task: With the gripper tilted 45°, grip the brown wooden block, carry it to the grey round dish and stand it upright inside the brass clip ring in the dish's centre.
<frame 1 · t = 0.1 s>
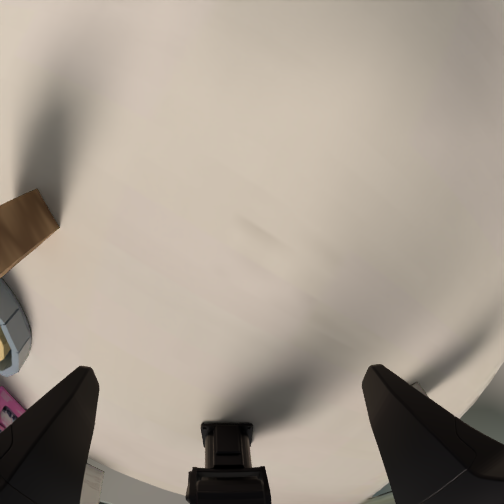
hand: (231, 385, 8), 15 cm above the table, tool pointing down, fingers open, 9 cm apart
supplement box: (84, 465, 38), on the table
brown wooden block: (35, 220, 19), on the table
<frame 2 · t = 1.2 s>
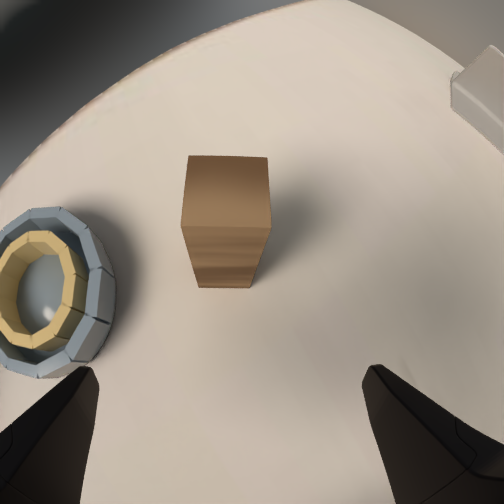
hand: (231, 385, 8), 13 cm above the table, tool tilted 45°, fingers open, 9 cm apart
tablet stand: (492, 128, 40), on the table
grey round dish: (49, 297, 21), on the table
brown wooden block: (224, 263, 24), on the table
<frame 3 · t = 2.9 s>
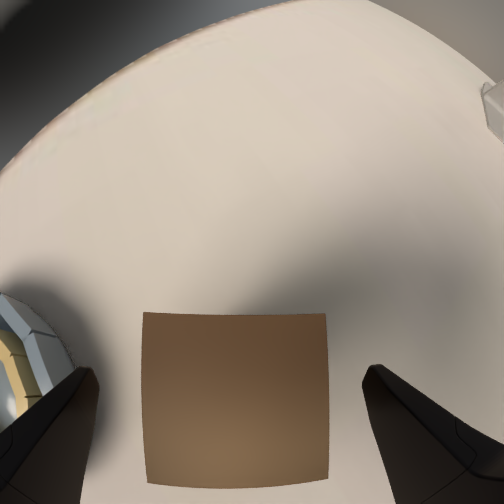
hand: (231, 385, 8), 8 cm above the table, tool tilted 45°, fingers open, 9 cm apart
grey round dish: (9, 396, 13), on the table
brown wooden block: (227, 378, 15), on the table
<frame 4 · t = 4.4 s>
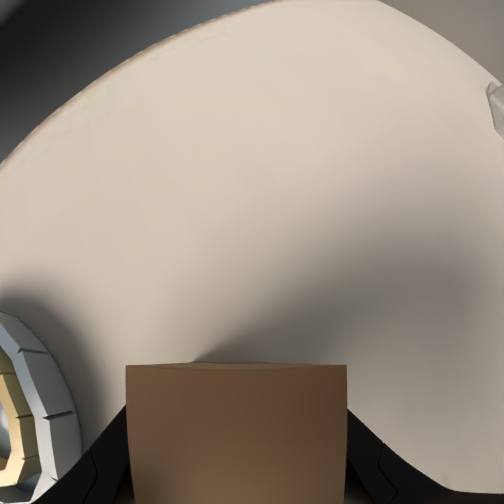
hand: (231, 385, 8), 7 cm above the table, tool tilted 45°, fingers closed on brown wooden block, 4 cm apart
grey round dish: (3, 411, 11), on the table
brown wooden block: (228, 398, 14), on the table, touching gripper
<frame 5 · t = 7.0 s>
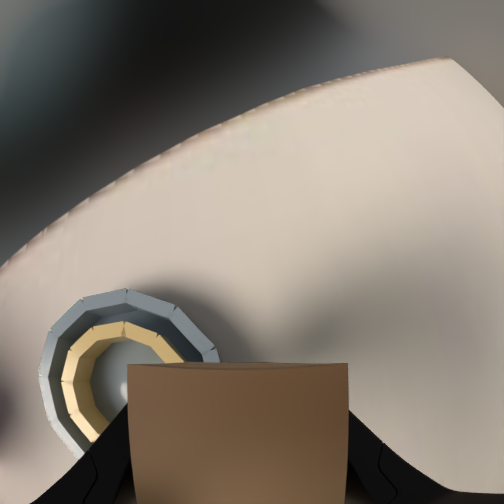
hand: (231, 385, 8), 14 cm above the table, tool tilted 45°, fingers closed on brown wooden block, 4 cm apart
grey round dish: (136, 388, 19), on the table
brown wooden block: (229, 397, 14), point 6 cm above the table, touching gripper
when the fingers open (9 cm above the table, at t = 9.4 s): brown wooden block drops 1 cm, resting on grey round dish.
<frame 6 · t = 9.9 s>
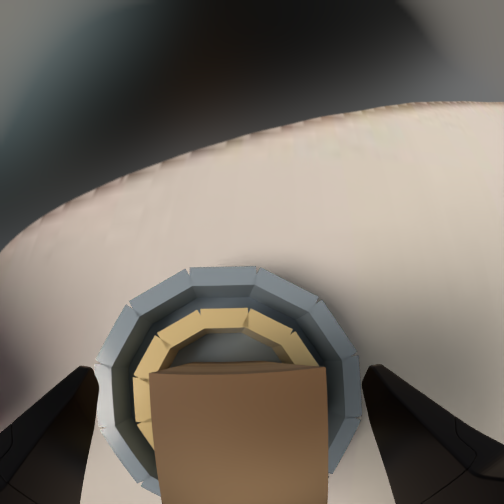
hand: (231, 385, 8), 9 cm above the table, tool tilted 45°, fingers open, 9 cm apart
grey round dish: (227, 393, 16), on the table
brown wooden block: (228, 394, 16), point 1 cm above the table, touching grey round dish
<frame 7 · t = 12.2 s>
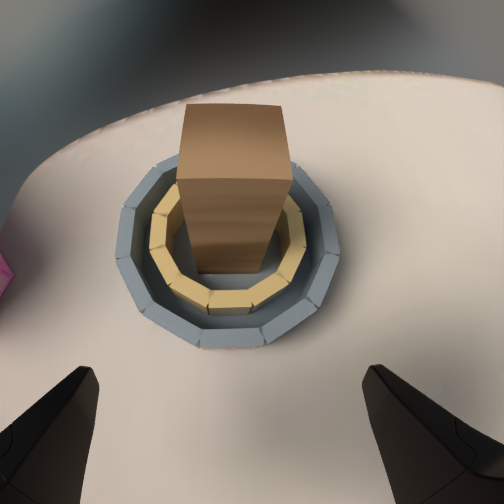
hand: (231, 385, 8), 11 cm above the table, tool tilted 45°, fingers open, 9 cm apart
grey round dish: (226, 250, 21), on the table
brown wooden block: (227, 246, 20), point 1 cm above the table, touching grey round dish
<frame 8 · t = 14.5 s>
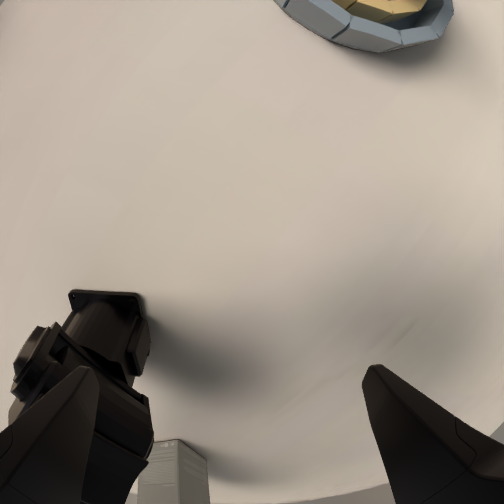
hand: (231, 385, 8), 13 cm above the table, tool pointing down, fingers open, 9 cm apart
skincare box: (177, 451, 32), on the table
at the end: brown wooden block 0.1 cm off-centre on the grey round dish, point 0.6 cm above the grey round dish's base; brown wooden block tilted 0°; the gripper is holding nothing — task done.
